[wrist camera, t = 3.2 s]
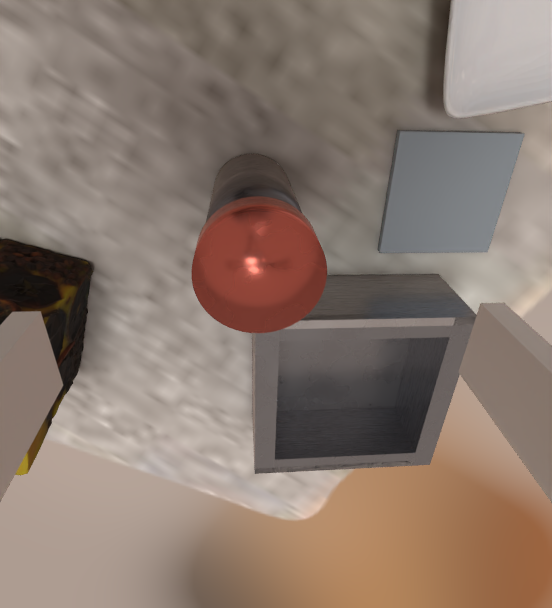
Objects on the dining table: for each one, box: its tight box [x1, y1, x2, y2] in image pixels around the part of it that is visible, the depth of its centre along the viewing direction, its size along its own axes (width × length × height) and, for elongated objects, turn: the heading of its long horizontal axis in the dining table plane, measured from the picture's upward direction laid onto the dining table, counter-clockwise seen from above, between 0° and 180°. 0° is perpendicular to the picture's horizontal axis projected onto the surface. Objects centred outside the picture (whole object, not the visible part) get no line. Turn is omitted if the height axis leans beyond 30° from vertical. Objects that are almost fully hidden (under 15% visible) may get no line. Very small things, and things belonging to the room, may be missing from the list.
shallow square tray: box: [252, 274, 477, 474], centre depth 31 cm, size 14×14×6 cm
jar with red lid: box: [192, 154, 327, 333], centre depth 22 cm, size 5×5×12 cm
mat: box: [378, 130, 524, 253], centre depth 28 cm, size 8×8×1 cm
